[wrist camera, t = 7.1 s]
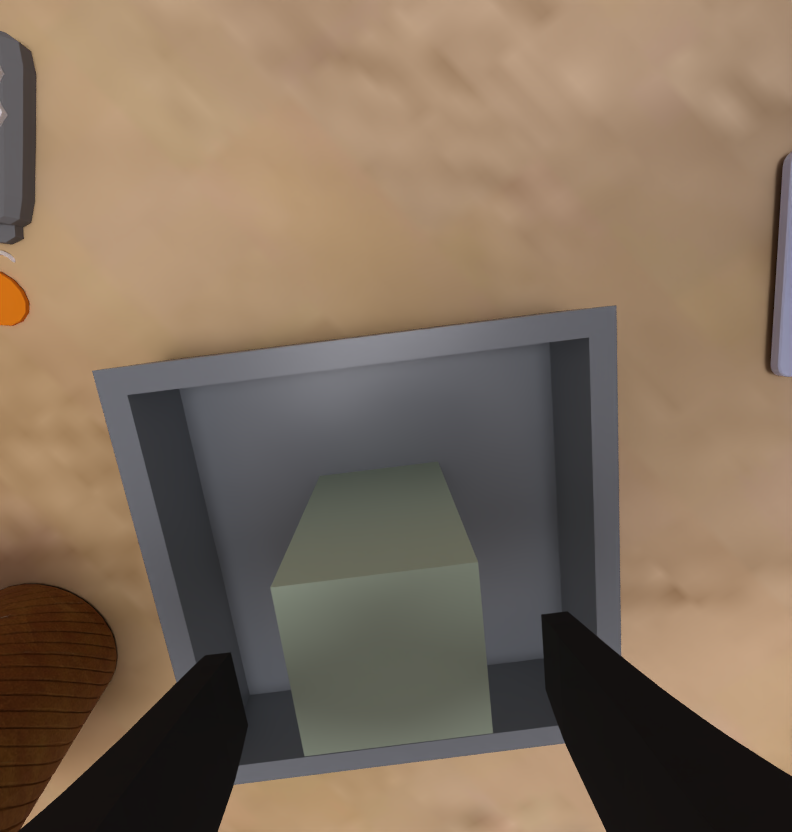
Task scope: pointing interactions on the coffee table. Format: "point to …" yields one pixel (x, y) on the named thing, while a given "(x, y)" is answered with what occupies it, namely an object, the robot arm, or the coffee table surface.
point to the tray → (366, 450)
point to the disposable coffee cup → (45, 687)
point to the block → (382, 614)
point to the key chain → (16, 163)
